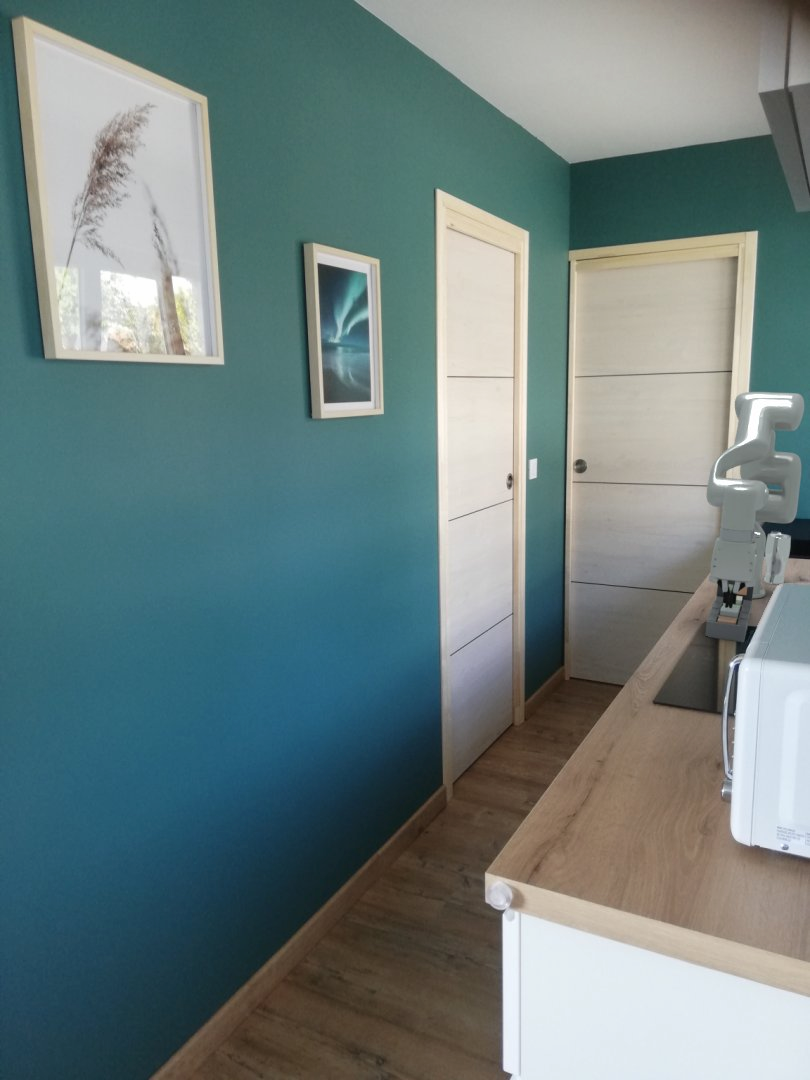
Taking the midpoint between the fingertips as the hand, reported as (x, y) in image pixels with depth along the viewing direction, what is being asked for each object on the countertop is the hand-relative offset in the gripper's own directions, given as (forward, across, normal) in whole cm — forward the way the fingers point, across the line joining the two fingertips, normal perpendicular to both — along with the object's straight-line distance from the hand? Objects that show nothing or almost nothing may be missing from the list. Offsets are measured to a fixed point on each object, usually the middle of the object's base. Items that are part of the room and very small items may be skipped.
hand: (728, 606), depth 200 cm
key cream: (+4, 0, -18) cm, 18 cm away
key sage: (+5, 0, -12) cm, 13 cm away
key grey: (+4, 0, -5) cm, 7 cm away
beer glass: (+9, -9, -61) cm, 62 cm away
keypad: (+8, 0, -9) cm, 12 cm away
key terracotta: (+5, 0, +1) cm, 5 cm away
